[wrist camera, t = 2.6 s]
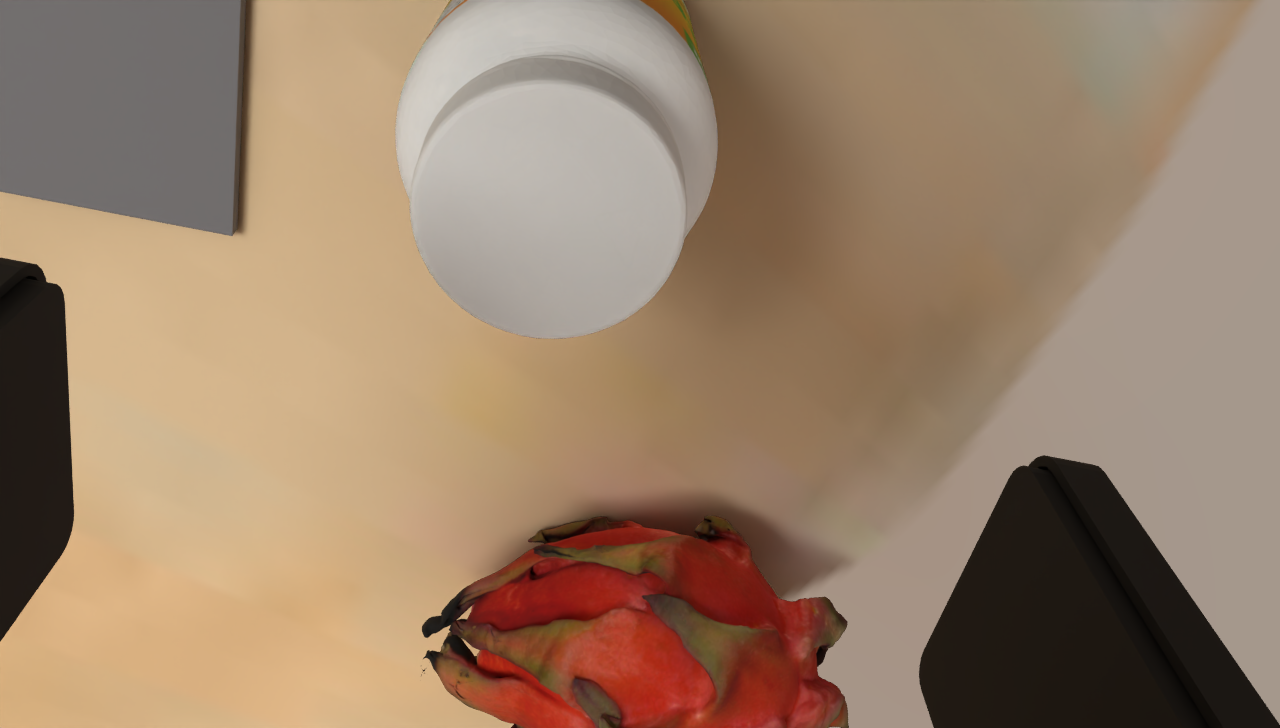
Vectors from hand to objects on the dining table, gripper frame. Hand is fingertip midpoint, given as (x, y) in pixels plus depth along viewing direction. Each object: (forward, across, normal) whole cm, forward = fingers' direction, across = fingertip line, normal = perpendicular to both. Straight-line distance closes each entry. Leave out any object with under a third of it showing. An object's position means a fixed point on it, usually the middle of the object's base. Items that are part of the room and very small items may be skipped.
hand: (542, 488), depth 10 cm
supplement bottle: (+15, 0, -1) cm, 15 cm away
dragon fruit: (+16, -4, +14) cm, 22 cm away
